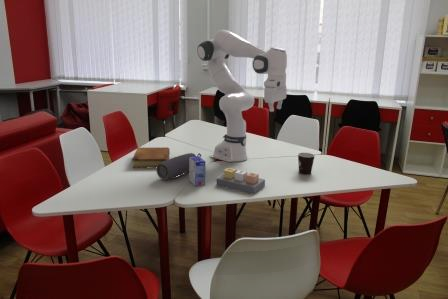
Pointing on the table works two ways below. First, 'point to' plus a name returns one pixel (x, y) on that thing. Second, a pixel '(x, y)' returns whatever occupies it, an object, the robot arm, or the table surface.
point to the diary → (150, 157)
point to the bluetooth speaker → (174, 166)
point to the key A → (229, 173)
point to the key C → (252, 178)
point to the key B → (240, 175)
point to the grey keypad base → (241, 184)
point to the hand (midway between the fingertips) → (275, 110)
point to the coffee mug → (305, 163)
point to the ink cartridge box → (197, 170)
